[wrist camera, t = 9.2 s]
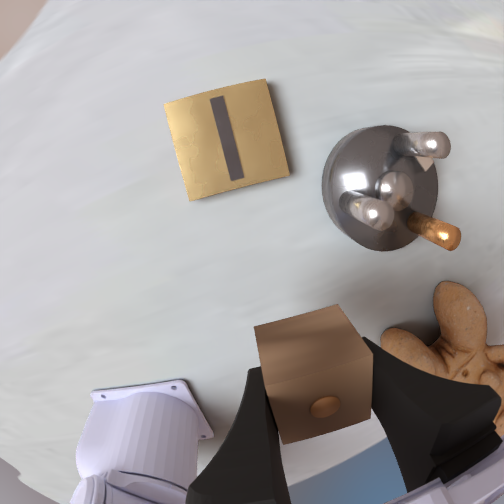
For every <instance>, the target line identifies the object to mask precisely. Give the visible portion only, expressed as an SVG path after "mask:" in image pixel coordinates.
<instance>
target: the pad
mask: <svg viewBox="0 0 504 504" xmlns="http://www.w3.org/2000/svg"><path fill="white" fill-rule="evenodd" d="M164 108H165V112H166V116H167V120H168V124H169V128H170V132H171V135H172V139H173V143H174V147H175V151H176V154H177V158H178V162H179V165H180V169H181V173H182V176H183V180H184V183H185V187H186V190H187V194H188V197H189V201H193V200H197V199H200V198H204V197H207V196H211V195H214V194H218V193H222V192H226V191H229V190H233V189H237V188H241V187H245V186H248V185H252V184H256V183H260V182H264V181H269V180H273V179H277V178H281V177H285V176H290V174H289V169H288V165H287V161H286V157H285V152H284V148H283V144H282V140H281V136H280V132H279V128H278V124H277V120H276V116H275V112H274V109H273V105H272V101H271V97H270V94H269V90H268V86H267V83H266V79H260V80H255V81H250V82H245V83H240V84H236V85H231V86H227V87H223V88H219V89H215V90H211V91H207V92H203V93H200V94H196V95H192V96H189V97H186V98H182V99H179V100H176V101H172V102H169V103H166V104H164Z"/></svg>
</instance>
